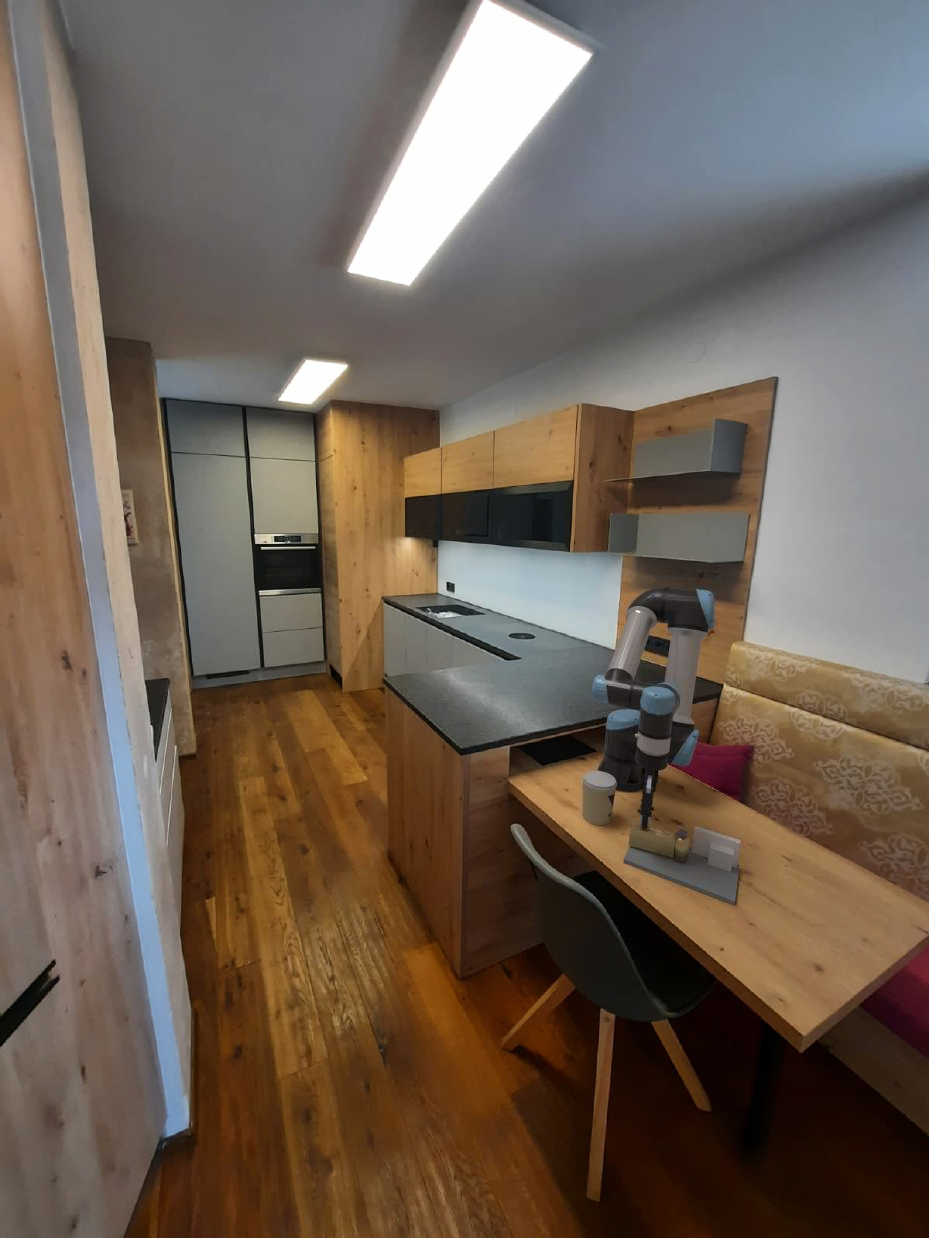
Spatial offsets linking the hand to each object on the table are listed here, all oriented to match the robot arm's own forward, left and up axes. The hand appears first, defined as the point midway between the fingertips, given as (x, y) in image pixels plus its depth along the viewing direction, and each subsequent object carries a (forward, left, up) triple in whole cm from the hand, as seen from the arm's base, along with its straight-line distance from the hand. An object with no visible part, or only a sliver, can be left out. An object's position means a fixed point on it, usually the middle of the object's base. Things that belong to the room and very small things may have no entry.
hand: (643, 834), depth 123 cm
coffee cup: (-6, -14, -4) cm, 16 cm away
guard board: (+2, +10, -4) cm, 10 cm away
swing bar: (+1, +4, -2) cm, 5 cm away
